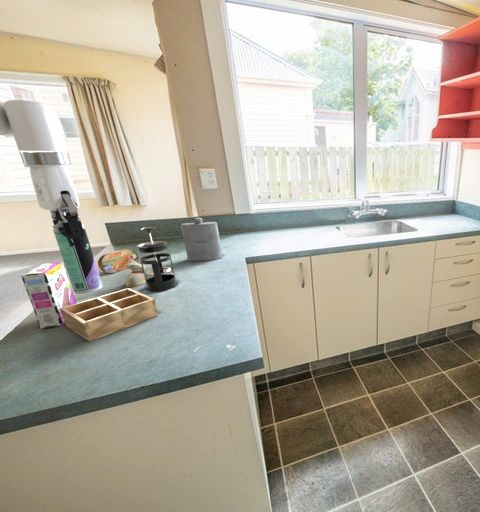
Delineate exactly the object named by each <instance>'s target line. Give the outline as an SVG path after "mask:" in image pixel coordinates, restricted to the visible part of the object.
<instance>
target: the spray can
mask: <svg viewBox="0 0 480 512" xmlns="http://www.w3.org/2000/svg"><path fill="white" fill-rule="evenodd" d="M60 218H61V219H60V221H58V222H59V223H57V224H56V225H54V224H53V225H52V228H53V229H52V232H53V234H54V237H55V240H56V244H57V246H58V248H59V252H60V255H61V257H62V260H63V261H62V262H63V264H64V267H65V270H66V273H67V276H68V279H69V282H70V285H71V286H72V287H71V288H72V291H73V293H74V294H77V295H83V294H90V293H94V292H96V291H99V290H102V289H103V283H102V279H101V276H100V273H99V270H98V265H97V263H96V260H95V257H94V252H93V250H92V246H91V244H90V241H89V237H88V234H87V231H86V228H85V225H84V223H83V222H81V224H82V227H83V230H84V233H85V236H84V237H80V238H74V239H68V238H67V237H66V234H65V231H64V228H63V225H62V223H64V222H63V219H62V217H61V216H60Z"/></svg>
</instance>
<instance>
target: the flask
mask: <svg viewBox="0 0 480 512" xmlns="http://www.w3.org/2000/svg"><path fill="white" fill-rule="evenodd" d="M192 219H193V222H186V223H181V224H180V229H181V234H182V238H183V243H184V247H185V253H186V257H187V260H188V261H189V262H202V261H214V260H219V259H222V258H223V252H222V246H221V239H220V233H219V228H218V227H219V226H218V223H217V222H216V221H205V222H203V221H204V220H203V218H201V217H194V218H192Z"/></svg>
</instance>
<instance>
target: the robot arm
mask: <svg viewBox="0 0 480 512" xmlns="http://www.w3.org/2000/svg"><path fill="white" fill-rule="evenodd" d="M1 137H2V138H13V139H14V141H15V144H16V147H17V149H18V150H17V151H18V152H19V155H20V158H21V161H22V164H23V167H25V168H29V173H30V178H31V182H32V185H33V189H34V193H35V196H36V199H37V202H38V203H37V204H38V206H39V208H40V209H43V210H47V211H49V212H50V217H51V219H52V223H53V226H54V225H56V224H57V223H59V222H58V221H60V219H61V218H60V216H61V217H62V219H63V222H64V223H62V225H63V228H64V231H65V234H66V237H67V238H68V239H74V238H80V237H84V236H85V233H84V230H83V227H82V224H81V223H82V221H81V218H80V215H79V212H78V210H79V208H80V206H81V205H80V199H79V197H78V194H77V190H76V188H75V184H74V182H73V181H74V180H73V178H72V175H71V174H70V171H69V169H68V168H72V167H73V165H72V162H71V159H70V155H69V152H68V149H67V147H66V142H65V139H64V135H63V132H62V129H61V126H60V123H59V119H58V115H57V113H56V110H55V109H54V108H53V107H52V106H51V105H49V104H47V103H44V102H39V101H34V100H33V101H32V100H21V99H10V100H9V99H8V100H6V101H0V138H1Z"/></svg>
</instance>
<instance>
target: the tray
mask: <svg viewBox="0 0 480 512" xmlns="http://www.w3.org/2000/svg"><path fill="white" fill-rule="evenodd" d="M155 299H156V298H153V297H152V296H148V295H146V294H144V293H142V292H140V291H137V290H135V289H132V288H131V287H130V288H127V287H126V288H123V289H120V290H117V291H113V292H110V293H107V294H104V295H101V296H100V295H99V296H96V297H94V298H90V299H87V300H83V301H79V302H76V304H73V305H70V306H66V307H64V308H60V311H61V314H62V317H63V319H64V322H65V323H64V324H65V326H66V327H67V328H68V329H70V330H72V331H73V332H75V334H77V335H79V336H80V337H82V338H83V339H84V340H86V341H87V342H89V343H90V342H94V341H96V340H99V339H101V338H103V337H107V336H109V335H112V334H114V333H116V332H119V331H122V330H124V329H126V328H129V327H132V326H135V325H137V324H139V323H143V322H145V321H147V320H150V319H152V318H156V317H158V316H159V310H158V307H157V304H156V300H155Z"/></svg>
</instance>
